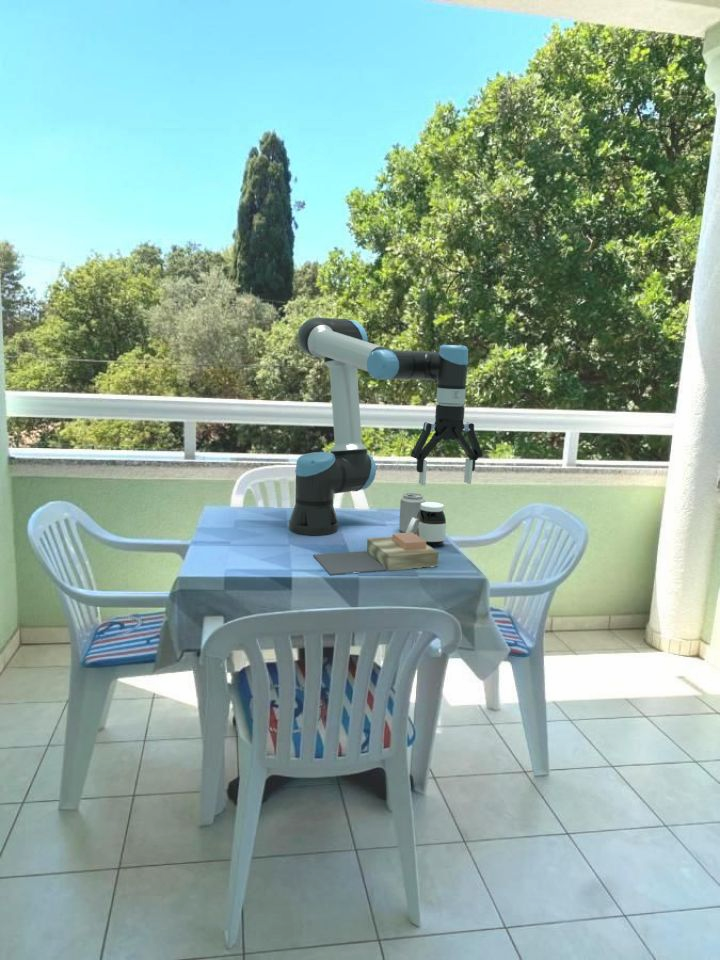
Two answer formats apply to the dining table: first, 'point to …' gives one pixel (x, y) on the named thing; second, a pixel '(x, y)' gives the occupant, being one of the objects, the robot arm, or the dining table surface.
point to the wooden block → (400, 555)
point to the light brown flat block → (409, 541)
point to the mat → (348, 562)
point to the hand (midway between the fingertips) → (445, 483)
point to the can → (409, 509)
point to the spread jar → (430, 523)
